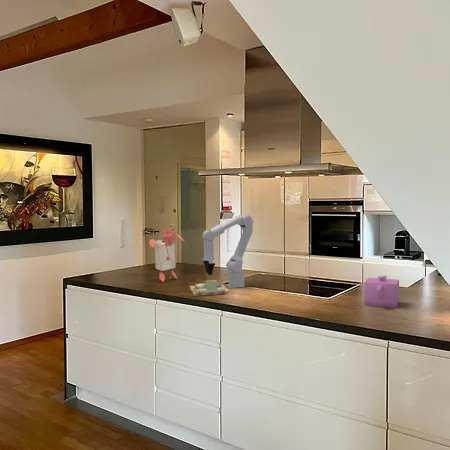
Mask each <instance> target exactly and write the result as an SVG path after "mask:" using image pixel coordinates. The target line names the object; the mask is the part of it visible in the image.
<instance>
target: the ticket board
mask: <svg viewBox="0 0 450 450" xmlns="http://www.w3.org/2000/svg"><path fill="white" fill-rule="evenodd" d="M222 287H223V288H224V289H225V291H222V292H206V293H200V292H199V289H205V288H206V282H203V283H194V285H189V289H190V292H191V293H192V295H193V296H194V297H196V296H197V297H198V296H200V297H201V296H210V295H211V296H214V295H226V294H227V295H229V294H230V290H229V288H227V286H225V285H224V284H223V283H221V284H220V283H219V282H217V288H222Z"/></svg>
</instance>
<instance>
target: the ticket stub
mask: <svg viewBox="0 0 450 450" xmlns="http://www.w3.org/2000/svg"><path fill="white" fill-rule="evenodd" d="M205 283H206V288H205V289H199V292H200V293H206V292H222V291H225V289H224V288H223V287H222V288H217V283H218V279H216V280H215V279H214V280H213V279H211V280H206V282H205Z"/></svg>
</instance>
